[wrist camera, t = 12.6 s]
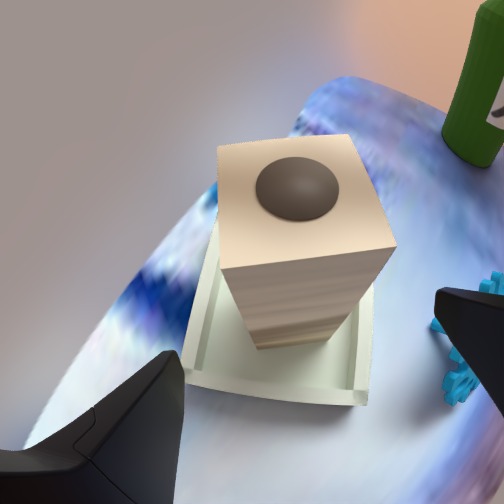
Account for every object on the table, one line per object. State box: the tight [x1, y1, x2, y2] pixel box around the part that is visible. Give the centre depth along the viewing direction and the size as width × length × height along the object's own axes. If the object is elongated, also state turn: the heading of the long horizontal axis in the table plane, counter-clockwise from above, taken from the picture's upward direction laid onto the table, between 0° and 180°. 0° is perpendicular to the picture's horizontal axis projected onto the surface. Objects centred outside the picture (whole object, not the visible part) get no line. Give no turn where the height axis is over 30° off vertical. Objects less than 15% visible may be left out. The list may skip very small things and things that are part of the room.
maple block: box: [217, 134, 397, 350], centre depth 14 cm, size 5×5×13 cm
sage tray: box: [180, 212, 374, 406], centre depth 20 cm, size 13×12×3 cm
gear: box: [431, 271, 504, 406], centre depth 16 cm, size 11×6×10 cm
